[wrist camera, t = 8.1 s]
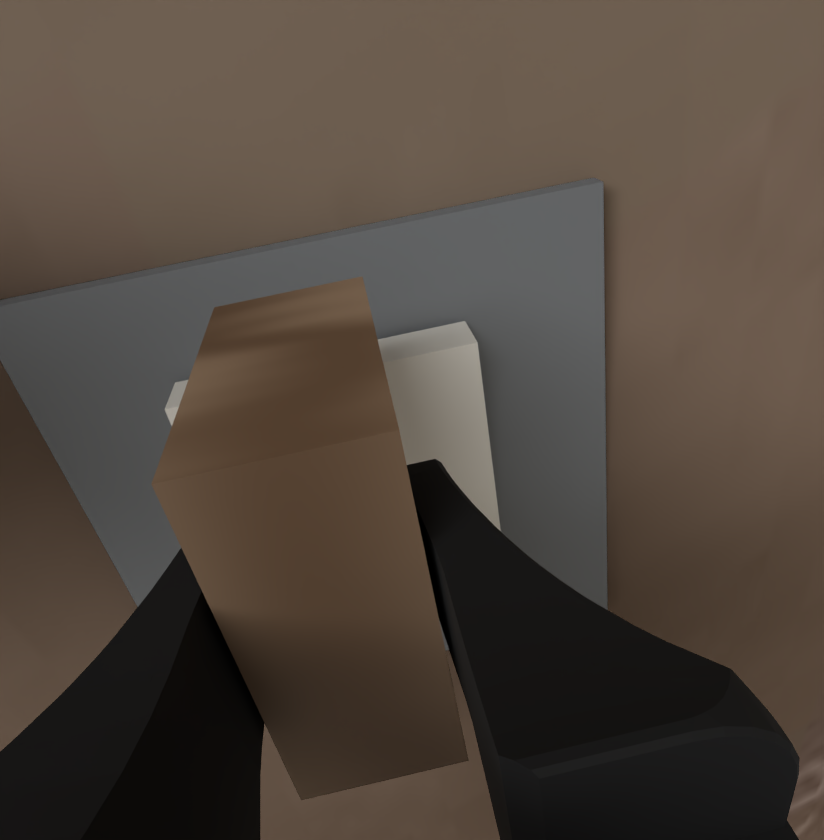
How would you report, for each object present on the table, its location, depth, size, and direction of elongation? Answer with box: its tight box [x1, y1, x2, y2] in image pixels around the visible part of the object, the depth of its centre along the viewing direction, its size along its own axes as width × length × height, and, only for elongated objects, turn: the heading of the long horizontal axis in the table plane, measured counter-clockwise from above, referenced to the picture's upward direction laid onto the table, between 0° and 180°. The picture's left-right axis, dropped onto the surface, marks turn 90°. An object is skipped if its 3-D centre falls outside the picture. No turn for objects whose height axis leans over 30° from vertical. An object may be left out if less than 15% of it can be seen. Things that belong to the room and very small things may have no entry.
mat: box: [0, 178, 608, 651], centre depth 20 cm, size 16×16×1 cm
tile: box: [165, 321, 501, 531], centre depth 19 cm, size 8×2×8 cm
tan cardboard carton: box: [151, 277, 469, 800], centre depth 12 cm, size 3×7×6 cm, turn 9°
